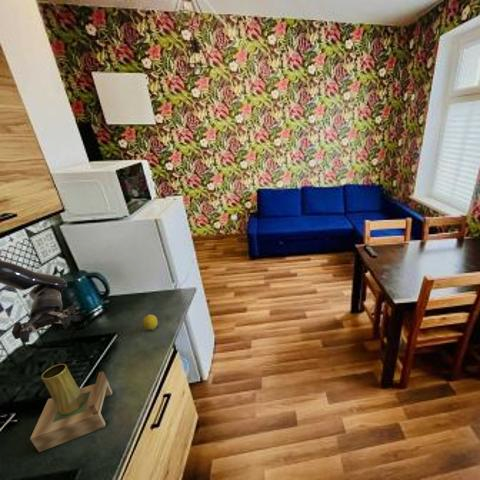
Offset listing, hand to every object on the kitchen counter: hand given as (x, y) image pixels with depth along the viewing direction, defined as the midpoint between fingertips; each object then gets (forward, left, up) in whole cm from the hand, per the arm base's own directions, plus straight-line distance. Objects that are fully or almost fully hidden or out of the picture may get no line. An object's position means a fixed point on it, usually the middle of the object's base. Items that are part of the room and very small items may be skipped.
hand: (45, 332), depth 80 cm
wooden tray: (+3, -11, -27) cm, 29 cm away
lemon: (+21, +25, -27) cm, 43 cm away
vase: (+3, -11, -21) cm, 24 cm away
